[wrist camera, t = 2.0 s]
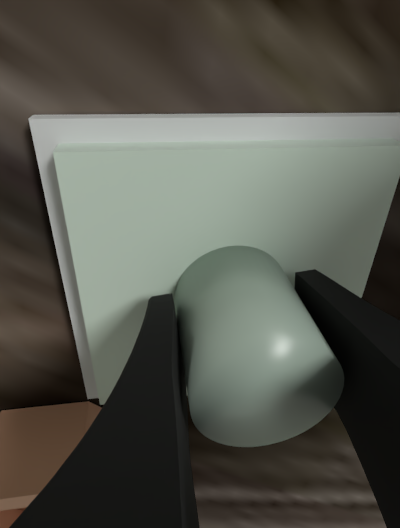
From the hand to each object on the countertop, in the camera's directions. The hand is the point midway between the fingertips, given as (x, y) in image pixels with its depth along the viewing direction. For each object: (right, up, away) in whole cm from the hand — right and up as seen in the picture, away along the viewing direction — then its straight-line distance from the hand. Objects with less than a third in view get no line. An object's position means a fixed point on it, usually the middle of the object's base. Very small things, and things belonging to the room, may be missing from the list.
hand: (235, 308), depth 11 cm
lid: (0, +1, +1) cm, 2 cm away
